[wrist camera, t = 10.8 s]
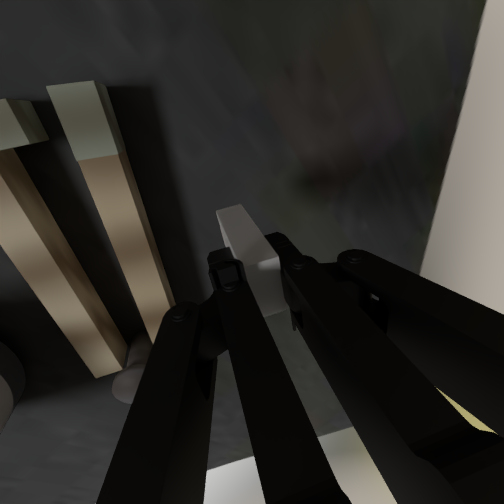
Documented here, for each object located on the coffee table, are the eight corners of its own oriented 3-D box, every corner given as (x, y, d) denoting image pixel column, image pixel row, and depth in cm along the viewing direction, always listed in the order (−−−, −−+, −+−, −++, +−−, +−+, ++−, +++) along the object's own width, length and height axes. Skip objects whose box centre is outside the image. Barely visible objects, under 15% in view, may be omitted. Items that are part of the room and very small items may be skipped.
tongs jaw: (185, 331, 29) (186, 353, 26) (160, 337, 28) (159, 361, 25) (105, 85, 18) (93, 80, 16) (65, 90, 18) (45, 86, 15)
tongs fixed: (170, 347, 29) (169, 393, 24) (112, 366, 29) (99, 418, 24) (48, 91, 18) (1, 82, 13) (-55, 111, 17) (-145, 110, 12)
